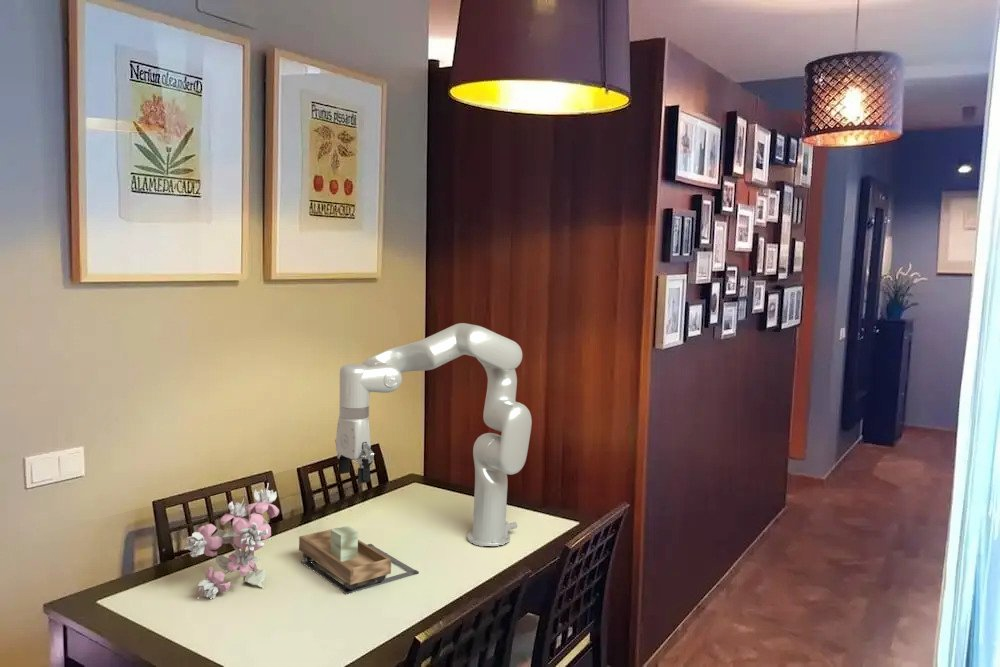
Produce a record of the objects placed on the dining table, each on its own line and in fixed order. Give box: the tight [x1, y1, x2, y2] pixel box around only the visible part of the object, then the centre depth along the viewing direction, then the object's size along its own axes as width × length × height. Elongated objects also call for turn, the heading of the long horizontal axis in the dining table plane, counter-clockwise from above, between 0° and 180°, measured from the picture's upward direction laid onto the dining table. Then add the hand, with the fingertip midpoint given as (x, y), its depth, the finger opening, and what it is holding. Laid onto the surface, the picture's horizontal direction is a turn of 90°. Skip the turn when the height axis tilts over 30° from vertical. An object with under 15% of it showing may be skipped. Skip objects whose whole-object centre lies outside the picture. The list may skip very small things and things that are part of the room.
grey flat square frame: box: [300, 543, 420, 595], centre depth 203 cm, size 22×24×1 cm
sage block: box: [330, 525, 359, 562], centre depth 199 cm, size 5×5×7 cm
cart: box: [298, 527, 392, 590], centre depth 200 cm, size 12×27×6 cm, turn 41°
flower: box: [182, 482, 280, 600], centre depth 188 cm, size 20×22×25 cm
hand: (353, 477), depth 200 cm, fingers open, 9 cm apart
